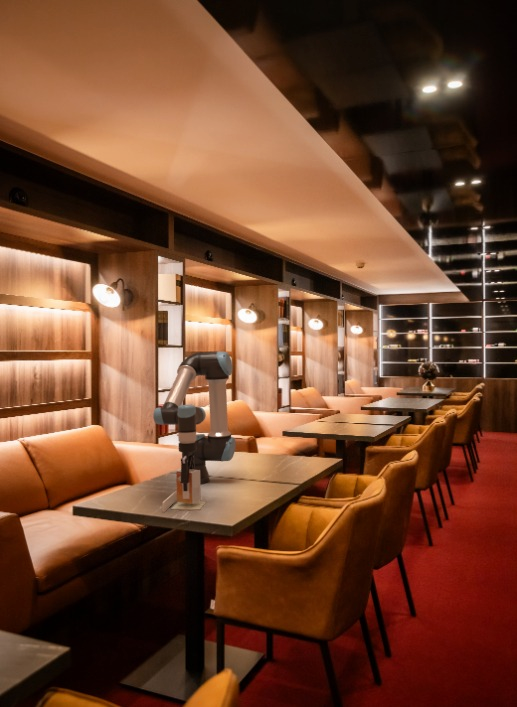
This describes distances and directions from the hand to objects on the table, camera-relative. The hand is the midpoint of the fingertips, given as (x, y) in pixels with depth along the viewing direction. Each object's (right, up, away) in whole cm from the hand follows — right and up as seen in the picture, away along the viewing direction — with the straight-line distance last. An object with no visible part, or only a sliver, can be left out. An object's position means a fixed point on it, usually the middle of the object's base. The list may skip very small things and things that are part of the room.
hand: (188, 496), depth 248 cm
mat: (0, -4, 0) cm, 4 cm away
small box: (0, -2, 0) cm, 2 cm away
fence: (-8, -4, +1) cm, 9 cm away
